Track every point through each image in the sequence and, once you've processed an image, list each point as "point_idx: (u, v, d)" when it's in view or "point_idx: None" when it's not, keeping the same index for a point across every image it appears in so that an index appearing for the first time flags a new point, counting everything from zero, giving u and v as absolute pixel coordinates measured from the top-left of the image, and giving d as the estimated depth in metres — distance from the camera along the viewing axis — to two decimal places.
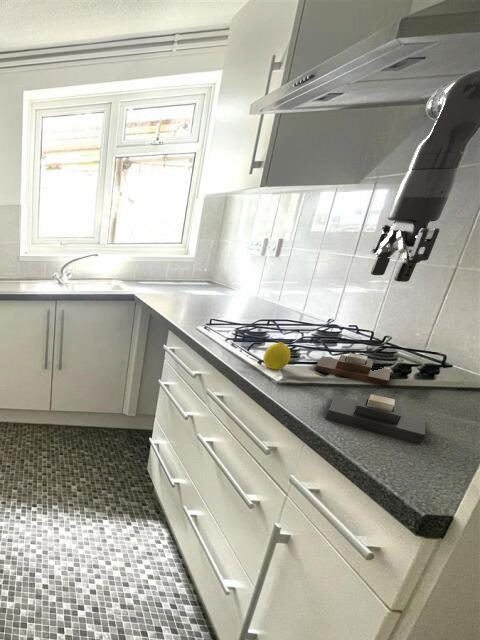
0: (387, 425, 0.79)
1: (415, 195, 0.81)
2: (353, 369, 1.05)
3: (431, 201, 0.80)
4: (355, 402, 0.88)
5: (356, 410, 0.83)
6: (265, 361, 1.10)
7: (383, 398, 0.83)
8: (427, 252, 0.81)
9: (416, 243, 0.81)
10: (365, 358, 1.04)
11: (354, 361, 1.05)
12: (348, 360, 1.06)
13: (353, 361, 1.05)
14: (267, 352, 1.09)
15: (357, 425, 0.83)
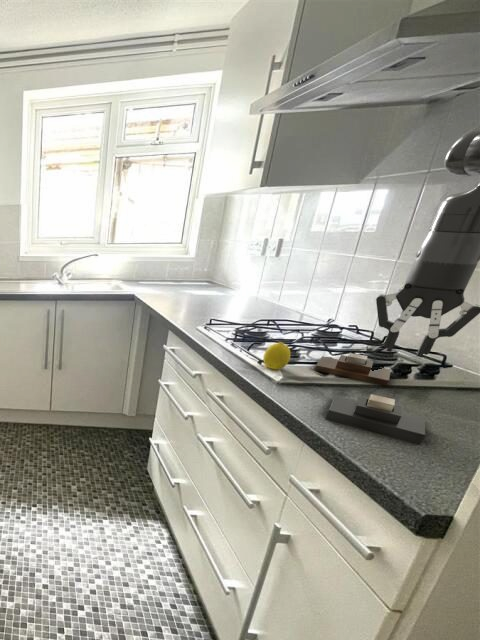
0: (387, 425, 0.79)
1: (471, 262, 0.68)
2: (353, 369, 1.05)
3: None
4: (355, 402, 0.88)
5: (356, 410, 0.83)
6: (265, 361, 1.10)
7: (383, 398, 0.83)
8: None
9: (463, 321, 0.72)
10: (365, 358, 1.04)
11: (354, 361, 1.05)
12: (348, 360, 1.06)
13: (353, 361, 1.05)
14: (267, 352, 1.09)
15: (357, 425, 0.83)
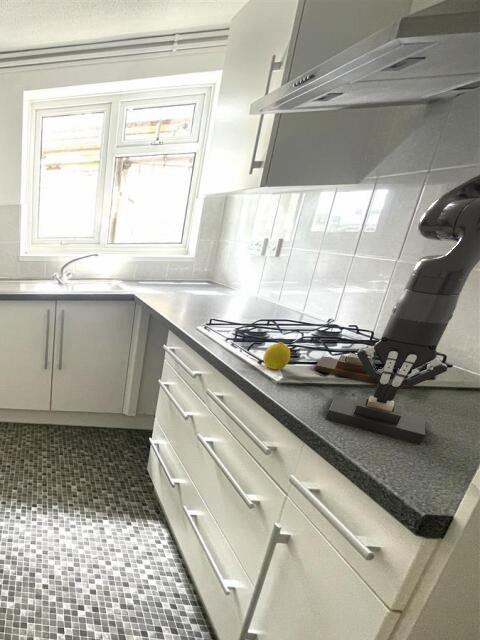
0: (387, 425, 0.79)
1: (442, 321, 0.72)
2: (353, 369, 1.05)
3: (446, 326, 0.74)
4: (355, 402, 0.88)
5: (356, 410, 0.83)
6: (265, 361, 1.10)
7: None
8: None
9: (426, 375, 0.77)
10: None
11: (354, 361, 1.05)
12: (348, 360, 1.06)
13: (353, 361, 1.05)
14: (267, 352, 1.09)
15: (357, 425, 0.83)
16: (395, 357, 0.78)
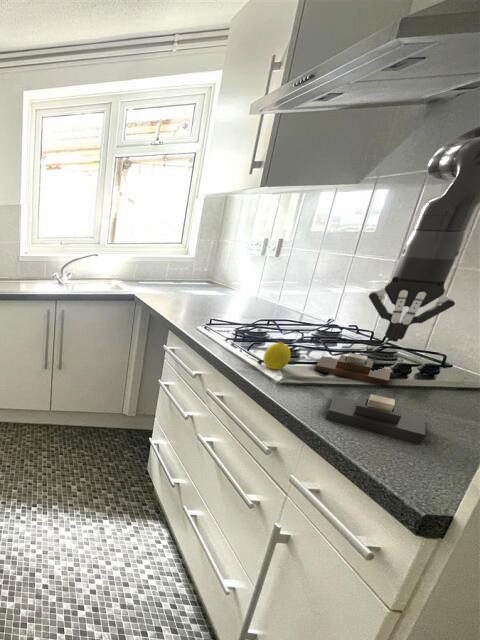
0: (387, 425, 0.79)
1: (449, 257, 0.77)
2: (353, 369, 1.05)
3: (453, 262, 0.79)
4: (355, 402, 0.88)
5: (356, 410, 0.83)
6: (265, 361, 1.10)
7: (383, 398, 0.83)
8: None
9: (435, 311, 0.81)
10: (365, 358, 1.04)
11: (354, 361, 1.05)
12: (348, 360, 1.06)
13: (353, 361, 1.05)
14: (267, 352, 1.09)
15: (357, 425, 0.83)
16: (405, 296, 0.83)
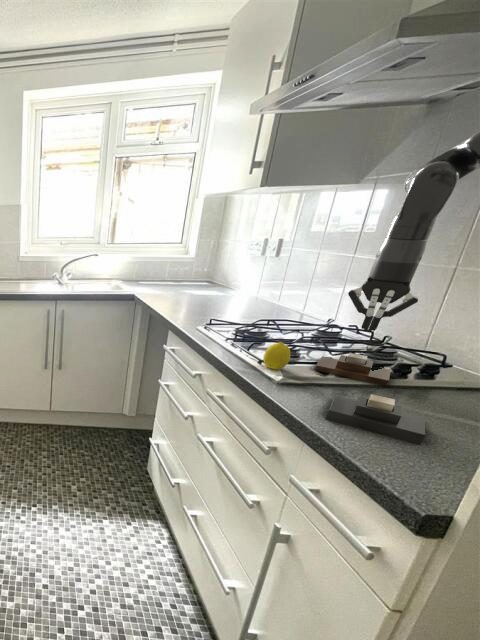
0: (387, 425, 0.79)
1: (413, 262, 0.93)
2: (353, 369, 1.05)
3: (417, 266, 0.94)
4: (355, 402, 0.88)
5: (356, 410, 0.83)
6: (265, 361, 1.10)
7: (383, 398, 0.83)
8: None
9: (402, 307, 0.97)
10: (365, 358, 1.04)
11: (354, 361, 1.05)
12: (348, 360, 1.06)
13: (353, 361, 1.05)
14: (267, 352, 1.09)
15: (357, 425, 0.83)
16: (378, 293, 0.99)
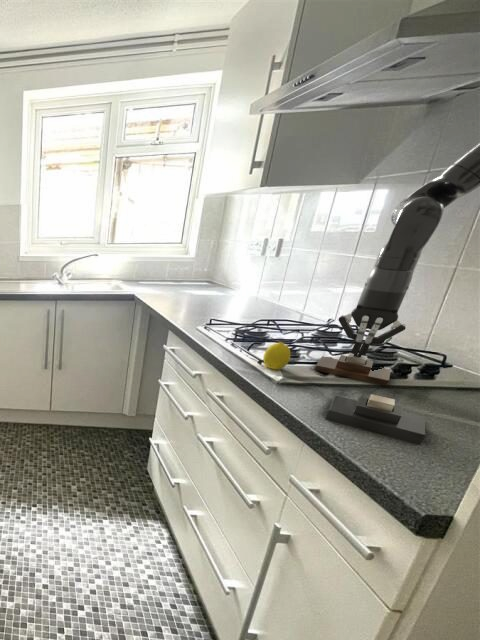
0: (387, 425, 0.79)
1: (400, 291, 0.96)
2: (353, 369, 1.05)
3: (404, 295, 0.97)
4: (355, 402, 0.88)
5: (356, 410, 0.83)
6: (265, 361, 1.10)
7: (383, 398, 0.83)
8: None
9: (390, 334, 1.00)
10: (365, 358, 1.04)
11: (354, 361, 1.05)
12: (348, 360, 1.06)
13: (353, 361, 1.06)
14: (267, 352, 1.09)
15: (357, 425, 0.83)
16: (367, 320, 1.01)
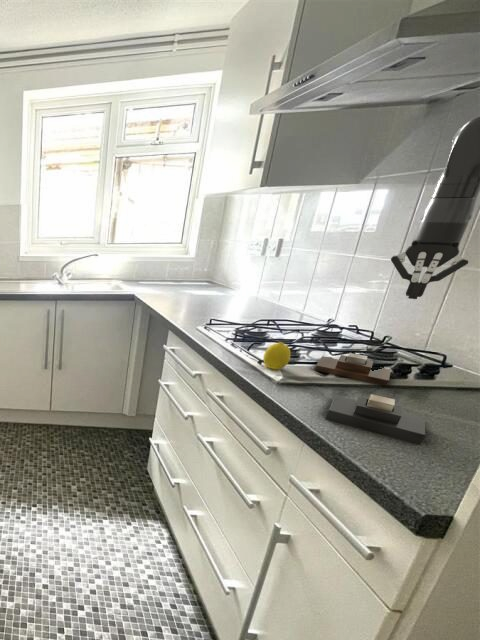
0: (387, 425, 0.79)
1: (463, 221, 0.89)
2: (353, 369, 1.05)
3: None
4: (355, 402, 0.88)
5: (356, 410, 0.83)
6: (265, 361, 1.10)
7: (383, 398, 0.83)
8: None
9: (451, 270, 0.93)
10: (365, 358, 1.04)
11: (354, 361, 1.05)
12: (348, 360, 1.06)
13: (353, 361, 1.05)
14: (267, 352, 1.09)
15: (357, 425, 0.83)
16: (424, 257, 0.94)
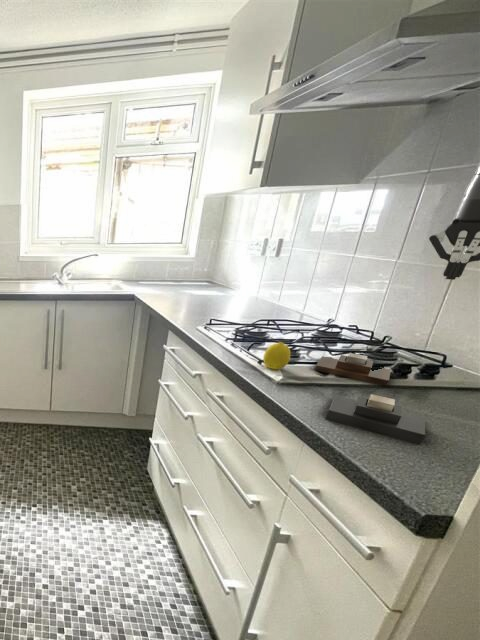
0: (387, 425, 0.79)
1: None
2: (353, 369, 1.05)
3: None
4: (355, 402, 0.88)
5: (356, 410, 0.83)
6: (265, 361, 1.10)
7: (383, 398, 0.83)
8: None
9: None
10: (365, 358, 1.04)
11: (354, 361, 1.05)
12: (348, 360, 1.06)
13: (353, 361, 1.05)
14: (267, 352, 1.09)
15: (357, 425, 0.83)
16: (465, 236, 0.92)
